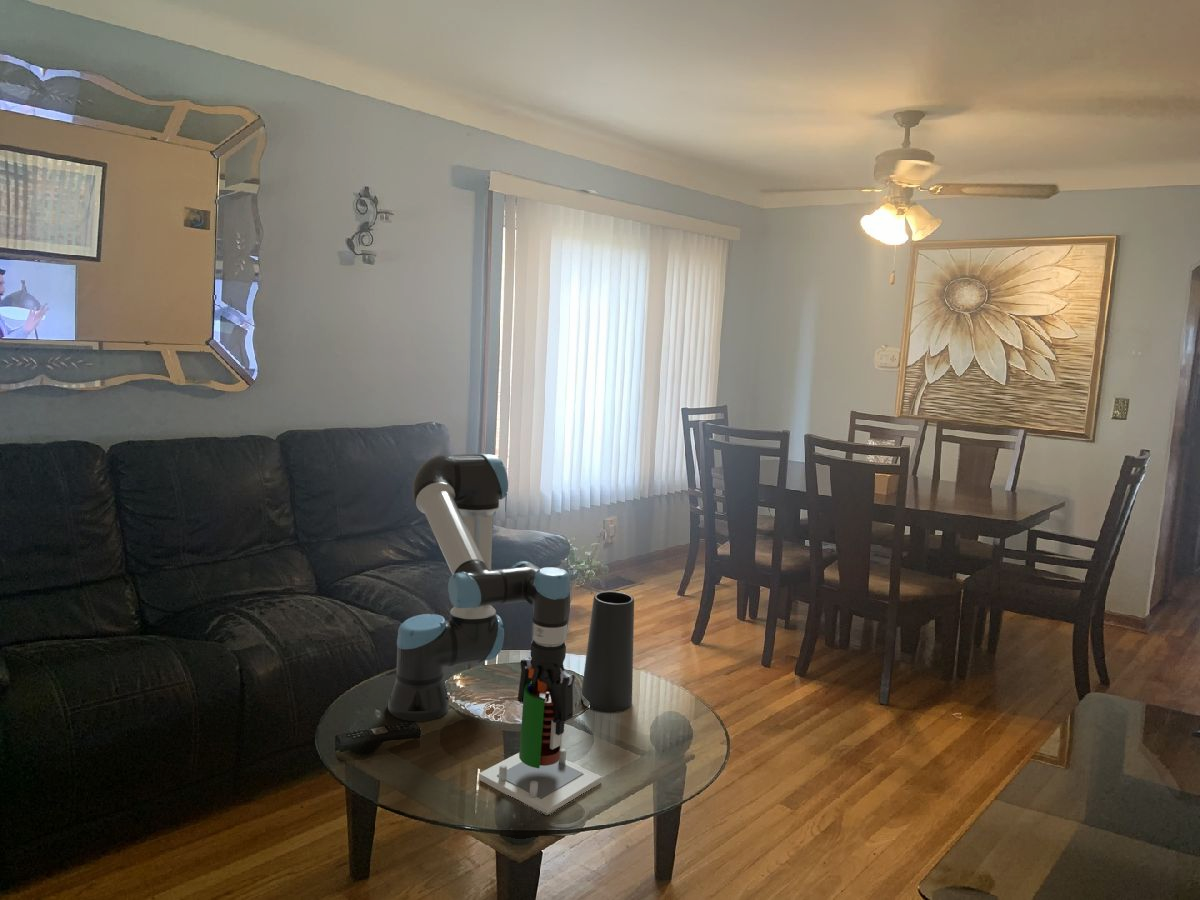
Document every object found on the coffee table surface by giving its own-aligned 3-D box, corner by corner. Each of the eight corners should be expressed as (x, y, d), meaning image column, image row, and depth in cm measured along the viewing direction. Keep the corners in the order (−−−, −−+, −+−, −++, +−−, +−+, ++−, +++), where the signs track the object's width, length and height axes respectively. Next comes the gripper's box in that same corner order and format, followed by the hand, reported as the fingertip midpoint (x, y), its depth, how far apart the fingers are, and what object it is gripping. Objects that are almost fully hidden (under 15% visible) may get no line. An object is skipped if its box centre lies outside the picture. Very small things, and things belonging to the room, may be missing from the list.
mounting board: (478, 779, 194) (479, 760, 193) (534, 750, 208) (535, 732, 207) (547, 816, 182) (548, 796, 181) (601, 782, 196) (602, 764, 195)
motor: (553, 771, 189) (559, 682, 185) (513, 764, 190) (518, 676, 187) (565, 748, 199) (570, 664, 195) (526, 742, 200) (531, 658, 197)
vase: (632, 714, 230) (640, 608, 225) (579, 711, 230) (587, 604, 225) (631, 692, 243) (639, 590, 238) (581, 688, 243) (588, 587, 238)
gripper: (503, 632, 193) (498, 731, 196) (572, 658, 181) (565, 763, 185) (527, 624, 199) (521, 720, 202) (595, 649, 187) (588, 750, 191)
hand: (542, 740), depth 194 cm, fingers closed on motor, 6 cm apart
